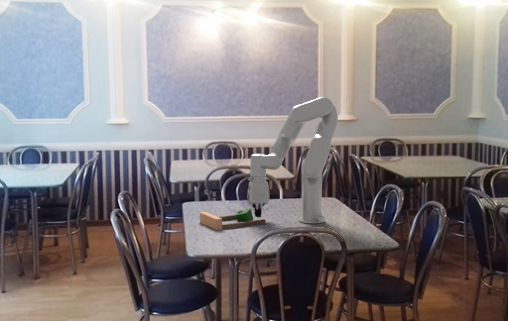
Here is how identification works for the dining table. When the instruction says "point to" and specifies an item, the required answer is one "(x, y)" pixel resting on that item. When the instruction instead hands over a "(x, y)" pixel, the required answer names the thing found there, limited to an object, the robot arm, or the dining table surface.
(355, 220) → the dining table surface
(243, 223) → the guide rails
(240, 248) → the dining table surface
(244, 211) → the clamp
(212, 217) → the end stop
